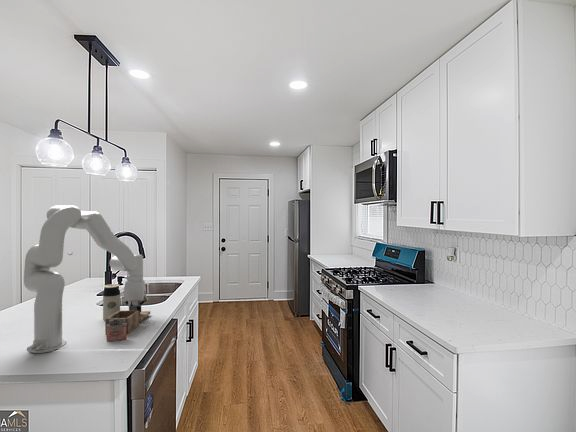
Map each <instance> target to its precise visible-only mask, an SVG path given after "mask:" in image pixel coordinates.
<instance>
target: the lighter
mask: <svg viewBox="0 0 576 432" xmlns="http://www.w3.org/2000/svg"><path fill="white" fill-rule="evenodd" d="M119 322H120V323H119ZM122 322H125V318H121V319H117V318H115V319H113V320H109V323H110V324H108V325H106V328H107V335H106V341H105V342H108V343H109V342H110V343H111V342H121V341H126V340H127V339H128V338H127V335H126V326H127V323H122ZM112 323H113V324H112Z"/></svg>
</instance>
